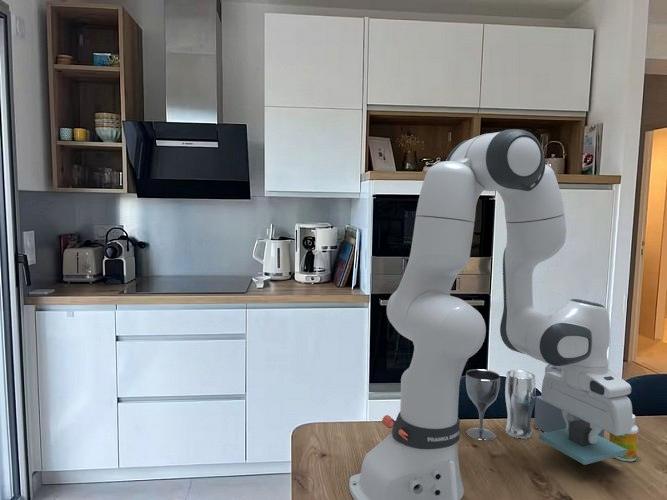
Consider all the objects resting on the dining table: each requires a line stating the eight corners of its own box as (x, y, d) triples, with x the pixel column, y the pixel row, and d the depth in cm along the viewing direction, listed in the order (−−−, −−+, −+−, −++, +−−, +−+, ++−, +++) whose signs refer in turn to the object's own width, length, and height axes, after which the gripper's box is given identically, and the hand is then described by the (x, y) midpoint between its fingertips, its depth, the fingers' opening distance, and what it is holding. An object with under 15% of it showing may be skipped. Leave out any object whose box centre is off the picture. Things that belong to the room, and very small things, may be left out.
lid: (584, 464, 95) (585, 440, 94) (538, 438, 106) (539, 416, 106) (626, 454, 99) (627, 431, 99) (578, 429, 110) (579, 409, 110)
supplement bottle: (609, 458, 105) (612, 416, 105) (607, 448, 110) (610, 407, 109) (638, 464, 103) (640, 421, 102) (634, 453, 108) (637, 412, 107)
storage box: (569, 446, 110) (571, 413, 110) (534, 427, 121) (535, 396, 120) (603, 439, 114) (605, 407, 114) (566, 420, 125) (568, 391, 124)
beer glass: (536, 441, 113) (539, 380, 112) (505, 438, 114) (508, 377, 113) (530, 428, 120) (532, 370, 119) (501, 426, 121) (503, 368, 120)
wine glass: (460, 426, 121) (462, 368, 119) (492, 427, 120) (494, 369, 119) (468, 441, 113) (470, 379, 112) (502, 442, 112) (504, 380, 111)
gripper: (535, 362, 110) (533, 419, 111) (616, 393, 91) (612, 462, 92) (556, 359, 112) (554, 415, 113) (639, 388, 93) (635, 456, 94)
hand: (581, 436), depth 102 cm, fingers closed on lid, 3 cm apart
